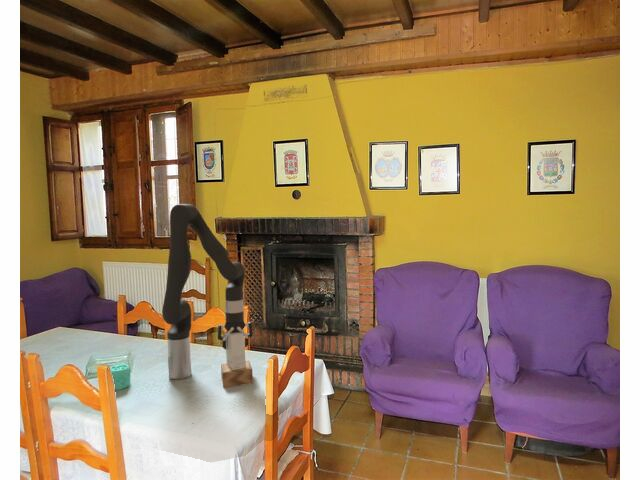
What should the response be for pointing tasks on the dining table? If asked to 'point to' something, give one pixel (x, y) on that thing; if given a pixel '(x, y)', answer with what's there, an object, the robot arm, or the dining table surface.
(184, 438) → the dining table surface
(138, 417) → the dining table surface
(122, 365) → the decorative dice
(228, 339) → the skincare box
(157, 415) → the dining table surface
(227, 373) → the walnut block
